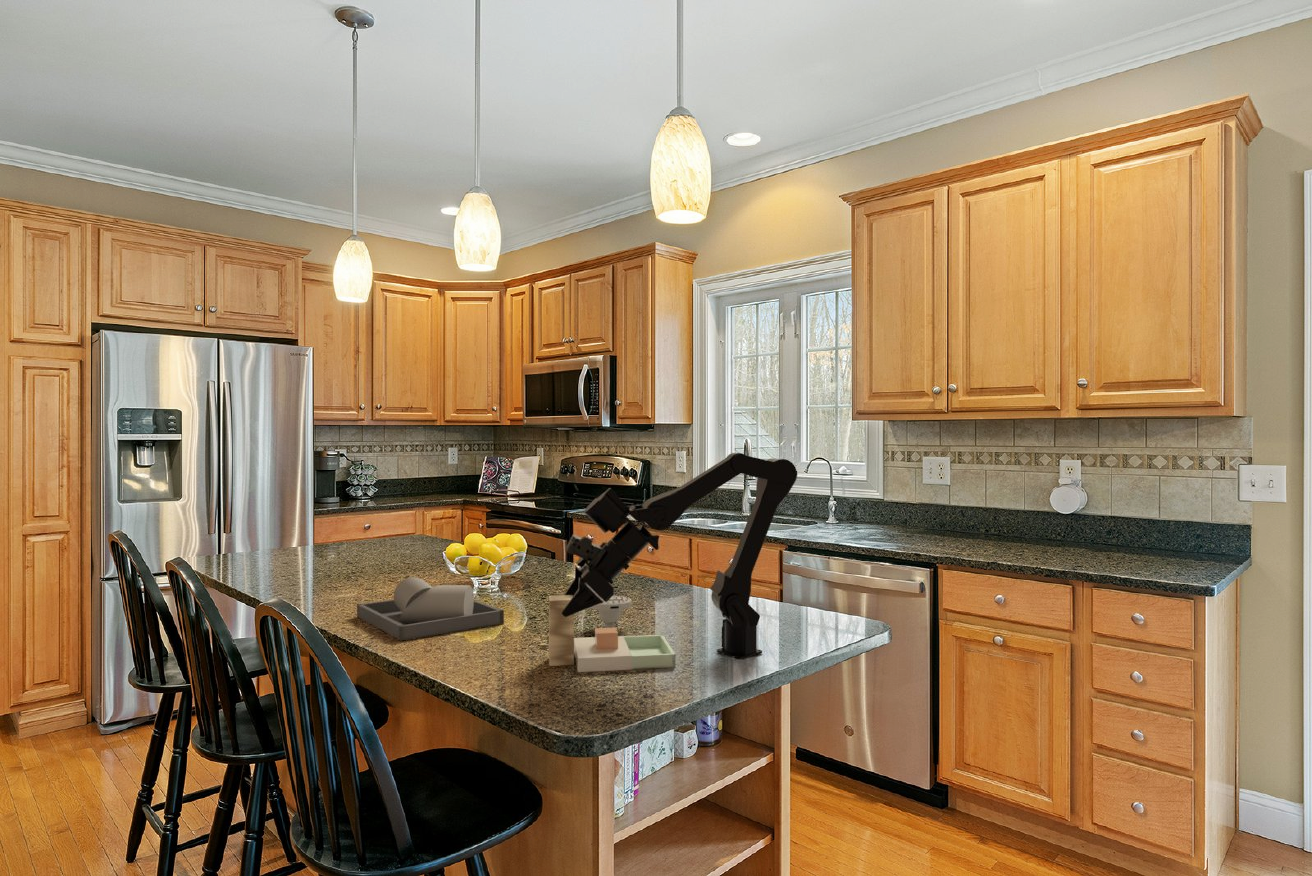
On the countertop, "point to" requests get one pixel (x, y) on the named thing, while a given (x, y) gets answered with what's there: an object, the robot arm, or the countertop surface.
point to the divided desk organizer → (389, 614)
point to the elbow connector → (432, 601)
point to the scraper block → (560, 632)
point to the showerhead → (612, 609)
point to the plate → (601, 656)
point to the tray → (650, 652)
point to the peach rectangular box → (606, 638)
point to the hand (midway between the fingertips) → (562, 609)
